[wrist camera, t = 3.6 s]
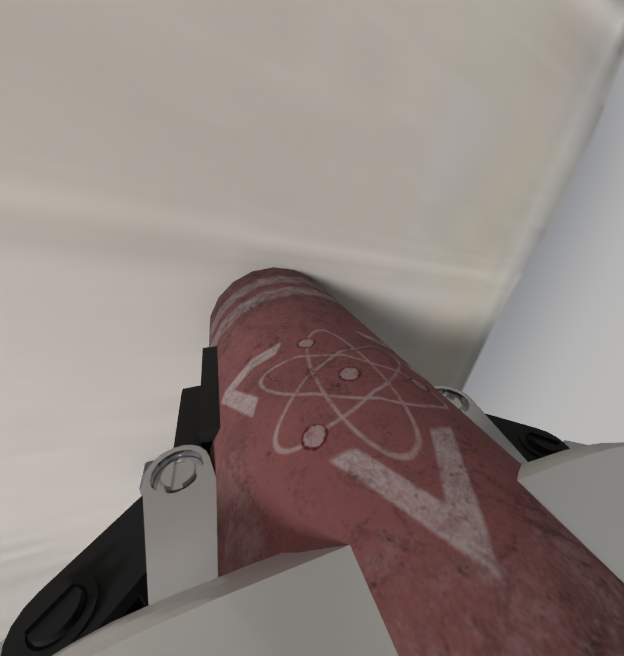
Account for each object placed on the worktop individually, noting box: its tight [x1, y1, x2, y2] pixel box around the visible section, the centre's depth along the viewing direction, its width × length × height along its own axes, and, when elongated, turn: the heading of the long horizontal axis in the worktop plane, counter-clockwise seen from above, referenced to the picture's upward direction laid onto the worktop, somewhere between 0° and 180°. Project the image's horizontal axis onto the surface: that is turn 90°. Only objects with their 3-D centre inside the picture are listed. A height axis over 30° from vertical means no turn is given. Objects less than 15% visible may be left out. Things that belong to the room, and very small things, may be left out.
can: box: [209, 268, 624, 656], centre depth 8 cm, size 6×6×14 cm
